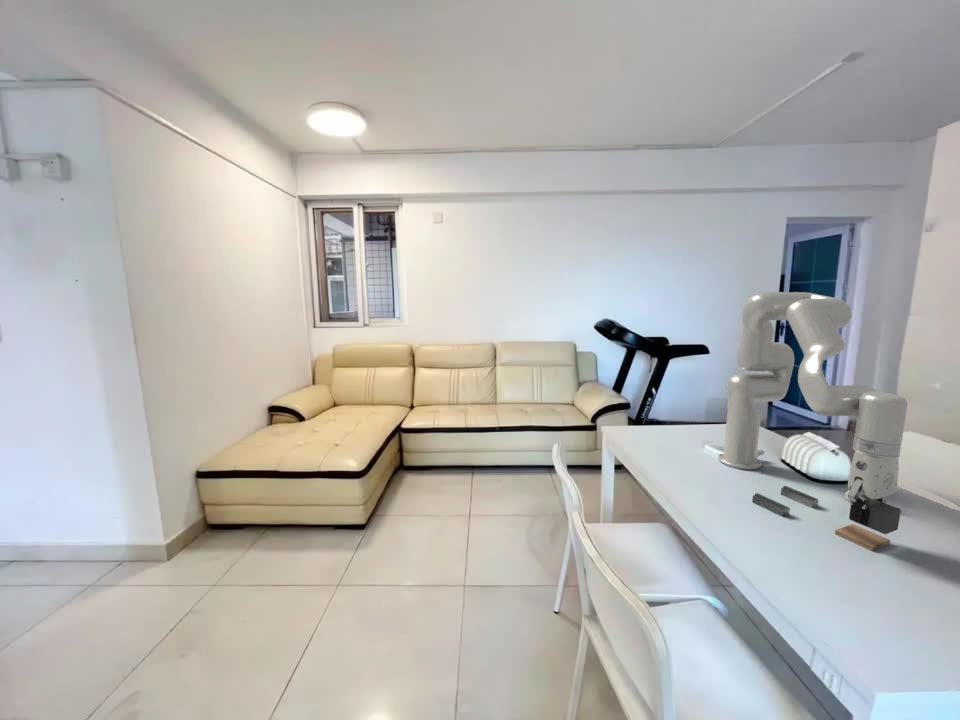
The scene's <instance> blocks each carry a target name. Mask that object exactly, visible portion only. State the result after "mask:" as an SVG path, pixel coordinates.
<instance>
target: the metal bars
mask: <svg viewBox="0 0 960 720" xmlns="http://www.w3.org/2000/svg"><path fill="white" fill-rule="evenodd" d="M780 495H781V496H783V497H785V498H788V499H790V500H793V501H795V502H797V503H798V504H799V503H800V504H802V505H804V506H806V507H808V508H811V509H813V508H816V507H818V506H819V498H816V497H815V496H813V495H809V494H808V493H805V492H803V491H799V490H797V489H794V488H792V487H789V486H787V485H784V486H783V487H781V490H780ZM752 503H753V504H756V505H757V506H760V507H761V508H764V509H766V510H768V511H770V512H772V513H774V514H777V515H778V516H780V517H786V516H789V515H790V510H791V508H790V507H789V506H787V505H785V504H783V503H780V502H778V501H776V500H773V499H771V498H769V497H767V496H764V495H763V494H760V493H758V492H756V493H754V494H753V495H752Z"/></svg>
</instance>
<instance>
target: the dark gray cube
mask: <svg viewBox="0 0 960 720" xmlns="http://www.w3.org/2000/svg"><path fill="white" fill-rule="evenodd" d="M868 509H869V510H870V512H869V519H868V525H866V526H865V527H867V528H869V529H870V530H874V531H876V532H879V533H881V534H884V535H888V534H890V533H893V532H895V531H897V530H898V529H899V524H900V517H901V511H902V508H900V507H896V506H893V505H890V504H887V503H886V502H885V503H883V502H880V501H877V500H872V499H870V503H869V506H868Z"/></svg>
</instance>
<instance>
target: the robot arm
mask: <svg viewBox="0 0 960 720" xmlns="http://www.w3.org/2000/svg"><path fill="white" fill-rule="evenodd" d="M741 314H742V315H741V317H742V318H741V319H742V331H741V335H740V341H739V345H738V350H737V355H736V356H737V358H736V360H737V366H738V368H739V369H741V370H743V371H749V372H751V373H739V374H734V375H731V377H729V378H728V379H727V382H726V395H727V396H726V397H727V414H726V422H725V423H726V424H725V433H724V435H725V437H724V446H723V453H724V454H721V453H719V454H718V455H717V456H718V457H717V459H718V461H719V462H721V463H722V464H724V465H726V466H727V467H728V466H729V467H732V468H735V469H739V470H748V471H749V470H752V471H755V470H759V469H761V468H762V462H761V461H760V460H759V459H758V457H759V456H764V455H765V450H763V449H758V446H759V437H760V428H761V420H762V417H761V416H762V415H761V412H760V410H759V408H758V406H757V405H756V403H759V402H764V403H765V402H766V403H767V402H779V401H780V400H783V399H784V398H785V397H786V395H787V393H788V390H789V386H790V383H791V378H792V374H793V369H794V365H795V354H794V351H793V348H791V346H790V345H788V344H787V343H785V342H778V341H777V342H773V341H774V335H775V329H774V326H773V324H772V322H771V321H788V323H789V326H790V328H791V330H792V332H793V335H794V336H795V339H796V341H797V342H798V345H799V347H800V349H801V350H802V353H803V358H802V360H801V362H800V365H799V367H798V374H797V382H798V383H797V384H798V387H799V388H800V391H801V393H802V396H803V398H804V400H805V402H806V404H807V405H808V406H809V408H810V409H811V410H812V412H814V413H816V414H817V415H820V416H824V417H856V424H855V431H854V437H853V444H852V450H853V451H855V452H854V454H853V456H852V460H851V464H850V469H849V474H848V479H847V480H848V481H847V490H849V493H848V495H847V496H848V497H849V499H850V502H849V503H850V509H849V516H848V519H849V520H850V521H852V522H855V523H856V524H859V525H862V526H864V527H866V525H868V519H869V512H870V510H869V509H868V506H869V503H870V499H872V500H877V501H880V502H883V503H885V504H886V501H887V499H886V497H888V496H891V495H894V494H895V493H896V492H897V488H898V481H899V479H898V478H899V465H900V464H899V463H900V461H899V458H900V457H901V456H900V455H901V447H902V443H903V442H902V441H903V435H904V431H905V424H906V417H907V412H908V400H907V399H906V398H905V397H903V396H902V395H899V394H895V393H889V392H882V391H880V390H877V389H875V388H873V387H869V386H866V385H848V384H847V385H845V384H844V385H843V384H841V385H840V384H839V385H830V384H829V382H828V381H827V379H826V377H825V374H824V370H823V364H824V361H826V360H828V359H831V358H833V357H835V356H837V355H838V354H840V353H842V351H844V349H845V348H846V343H845V342H844V339H843V338H842V335H841V334H840V333H839V330H838V329H841V328H843V327H845V326H847V325H848V324H849V323H850V321H851V319H852V316H853V315H852V314H853V313H852V310H851V306H850V305H849V304H848V303H847V302H846V301H844V300H843V299H840V298H838V297H834V296H833V297H832V296H827V295H822V294H818V293H812V292H807V291H806V292H804V291H802V292H801V291H800V292H799V291H792V292H787V291H786V292H785V291H778V292H776V291H775V292H774V291H773V292H771V291H770V292H761V293H757V294H753V295H752V296H750V297H749V298H748V299H747V300H746V301H745V303H744V305H743V307H742V313H741ZM752 372H755V373H752ZM757 372H765V373H757ZM860 491H862V492H863V494H861V493H860ZM859 496H861V497H864V498H865V499H864V502H863V501H862V499H860V498H859Z"/></svg>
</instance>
